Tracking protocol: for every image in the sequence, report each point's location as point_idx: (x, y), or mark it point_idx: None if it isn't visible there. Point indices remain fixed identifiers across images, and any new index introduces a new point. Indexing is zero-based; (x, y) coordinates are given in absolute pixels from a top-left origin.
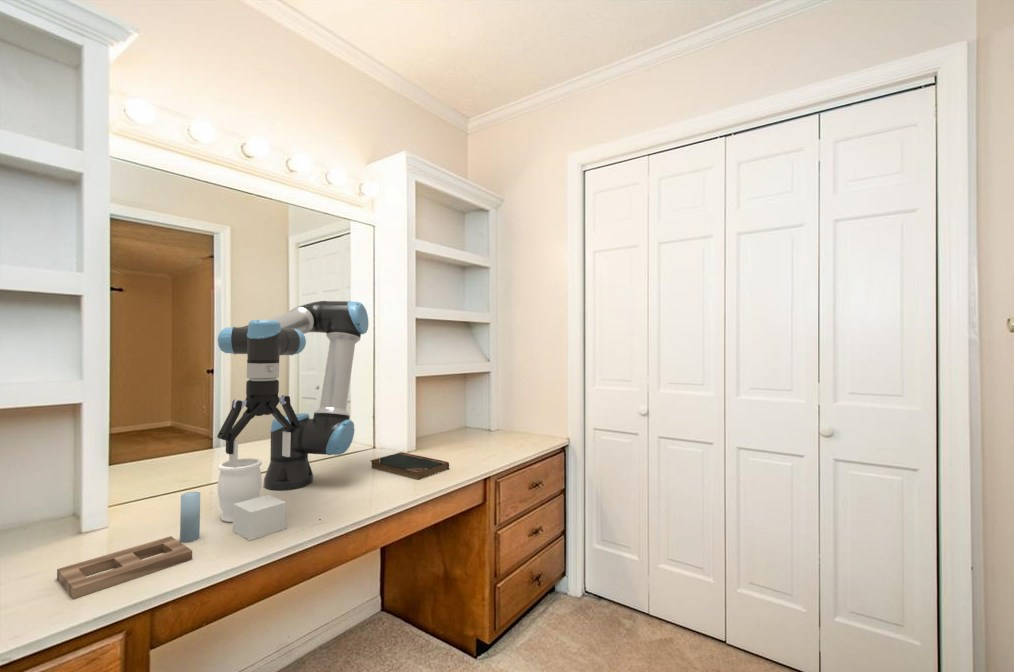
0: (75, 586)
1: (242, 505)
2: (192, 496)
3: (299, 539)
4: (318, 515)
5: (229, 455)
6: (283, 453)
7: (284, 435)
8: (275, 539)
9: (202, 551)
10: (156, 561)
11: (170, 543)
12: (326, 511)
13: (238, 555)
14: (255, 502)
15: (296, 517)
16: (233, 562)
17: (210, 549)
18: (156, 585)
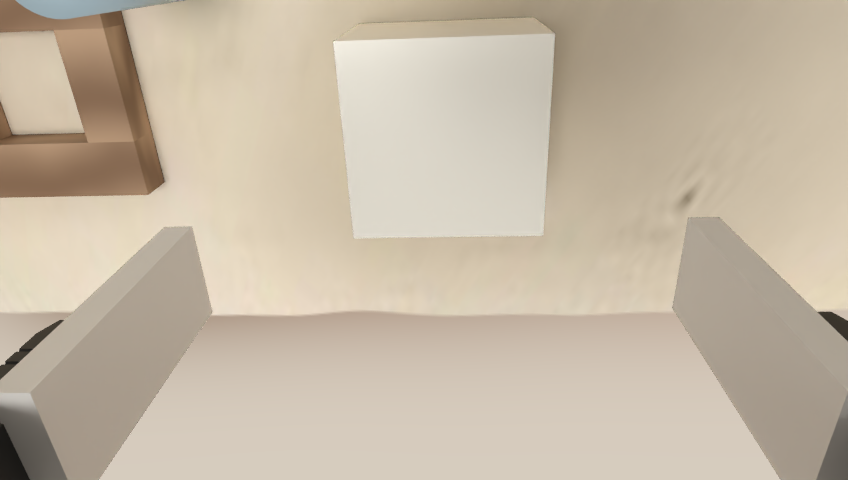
0: None
1: (361, 107)
2: (52, 18)
3: (502, 308)
4: (718, 152)
5: (113, 282)
6: (692, 254)
7: (799, 398)
8: (444, 245)
9: (206, 141)
10: (34, 192)
11: (80, 56)
12: (780, 135)
13: (296, 269)
14: (433, 114)
15: (642, 93)
16: (268, 302)
17: (233, 146)
18: (58, 277)
